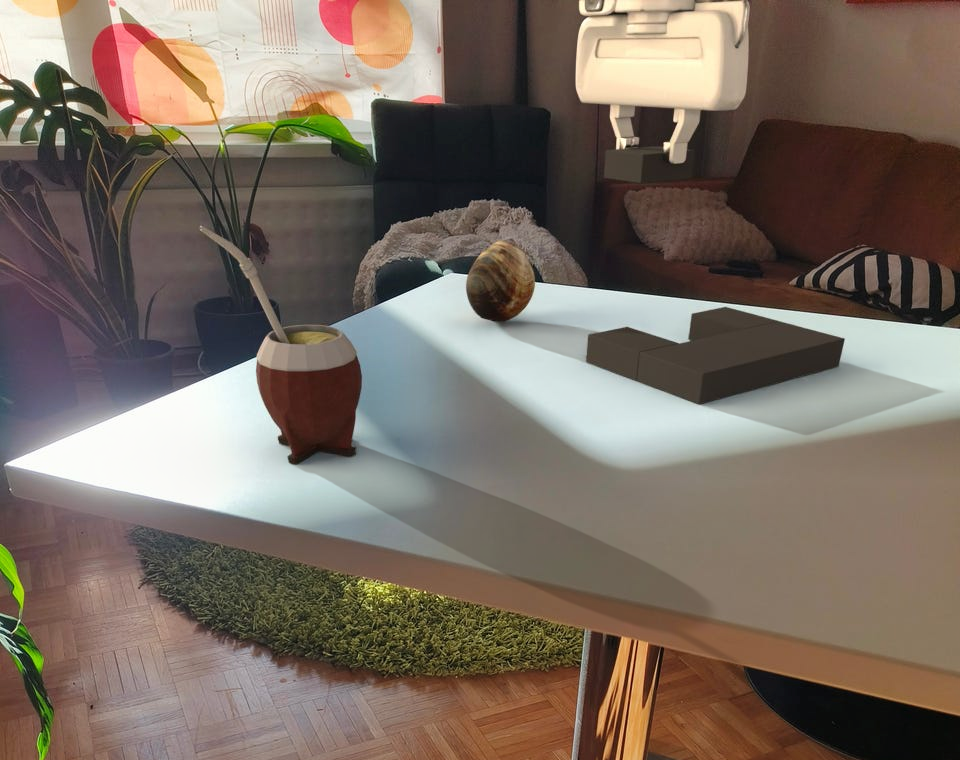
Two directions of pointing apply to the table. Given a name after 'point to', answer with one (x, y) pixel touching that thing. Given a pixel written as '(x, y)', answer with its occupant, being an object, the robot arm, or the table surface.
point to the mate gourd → (305, 378)
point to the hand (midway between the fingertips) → (649, 159)
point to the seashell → (500, 282)
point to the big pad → (716, 354)
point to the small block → (645, 165)
